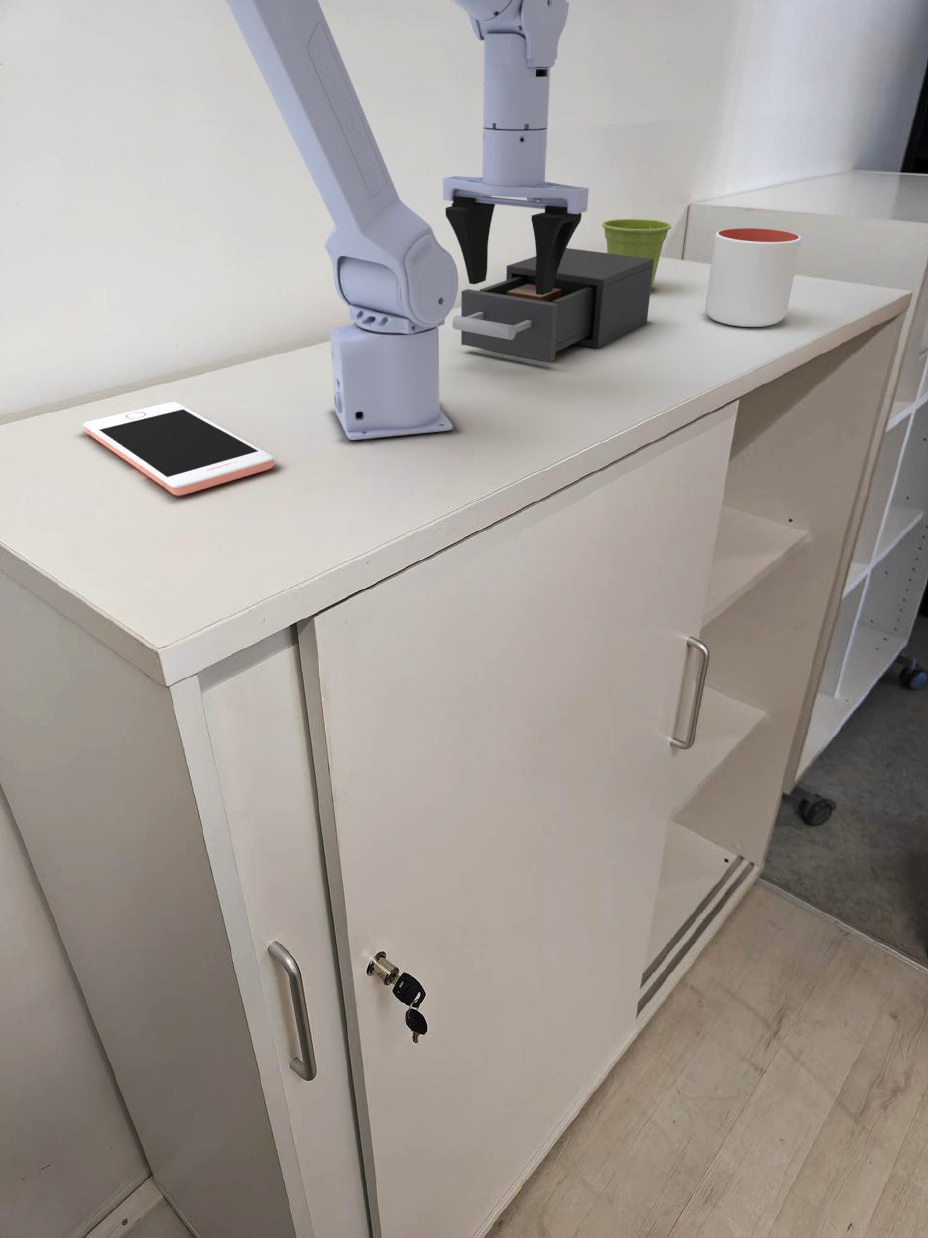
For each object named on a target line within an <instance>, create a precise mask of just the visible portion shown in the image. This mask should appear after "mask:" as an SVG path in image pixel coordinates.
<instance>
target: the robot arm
mask: <svg viewBox="0 0 928 1238" xmlns="http://www.w3.org/2000/svg"><path fill="white" fill-rule="evenodd" d="M225 2H226V3H227V5H228V8H229V9H230V12H231V14H232V16H233V19H234V20H235V22H236V24H237V26H238V28H239V30H240V32H241V34H242V36H243V38H244V41H245V42H246V45H247V47H248V49H249V51H250V53H251V55H252V57H253V59H254V61H255V64H256V65H257V67H258V69H259V71H260V73H261V76H262V77H263V80H264V82H265V84H266V86H267V88H268V90H269V91H270V94H271V96H272V98H273V100H274V102H275V105H276V106H277V109H278V110H279V112H280V115H281V117H282V118H283V121H284V123H285V125H286V127H287V129H288V132H289V134H290V135H291V137H292V139H293V142H294V143H295V146H296V147H297V150H298V152H299V154H300V155H301V158H302V160H303V162H304V164H305V166H306V168H307V170H308V173H309V175H310V176H311V179H312V180H313V182H314V185H315V187H316V189H317V190H318V191H317V192H318V193H319V195H320V197H321V199H322V202H323V203H324V205H325V207H326V209H327V212H328V213H329V215H330V218H331V219H332V222H333V223H334V225H333V227H332V228H331V231H330V232H329V234H328V236H327V238H326V241H325V243H324V248H325V250H326V252H327V254H328V256H329V258H330V261H331V265H332V271H333V273H332V274H333V282H334V288H335V290H336V293H337V294H338V297H339V298H340V300H341V301H342V302H343V303H344V304H345V305H346V306H347V307H349V319H350V320H352V321H354V322H353V323H351V324H348V325H344V326H343V325H342V326H336V327H332V328H331V332H330V334H331V335H330V337H331V338H330V346H331V347H330V349H331V361H332V376H333V389H334V390H333V391H334V394H333V400H334V401H333V403H334V412H335V415H336V416H337V418H338V420H339V423H340V425H341V426H342V429H343V432H344V433H345V435H346V438H347V439H348V440H350V441H357V440H365V439H366V440H368V439H376V438H377V439H378V438H386V437H397V436H407V435H408V436H409V435H415V434H416V435H417V434H427V433H436V432H446V431H447V432H448V431H451V430H453V423H452V422H451V421H450V419H449V418H448V416H447V414H445V413H444V411H443V410H442V408H440V345H439V344H440V343H439V341H440V340H439V339H440V338H439V331H440V330H439V327H441V326H444V325H445V319H446V318H447V317H448V316H449V315H450V313H451V311H452V309H453V308H454V305H455V303H456V299H457V296H458V292H459V291H458V290H459V271H458V268H457V264H456V262H455V260H454V258H453V256H452V254H451V253H450V252H449V251H448V250H447V249H445V248H444V247H443V246H442V245H441V244H440V243H439V242H438V240H437V237H436V235H435V233H434V231H433V228H432V226H431V225H430V224H429V223H428V222H427V221H425V219H423V218H422V216H420V215H418V214H417V213H416V211H414V210H412V209H411V208H410V207H409V206H407V204H406V203H404V202H403V200H401V199H400V196H399V194H398V191H397V189H396V187H395V184H394V182H393V180H392V177H391V174H390V172H389V170H388V167H387V165H386V162H385V159H384V157H383V155H382V151H381V150H380V147H379V146H378V143H377V141H376V138H375V136H374V133H373V131H372V128H371V126H370V123H369V121H368V119H367V116H366V113H365V111H364V108H363V106H362V105H361V101H360V99H359V97H358V95H357V92H356V90H355V87H354V84H353V83H352V79H351V78H350V75H349V72H348V70H347V68H346V65H345V63H344V60H343V58H342V55H341V53H340V50H339V48H338V45H337V43H336V40H335V38H334V36H333V34H332V31H331V29H330V27H329V24H328V22H327V19H326V16H325V15H324V12H323V9H322V7H321V5H320V2H319V0H225ZM451 2H453V3H455V4H456V5H457V6H459V7H460V9H462V10H464V11H465V12H466V13H467V15H468V17H469V21H470V24H471V28H472V30H473V32H474V34H475V36H476V38H477V39H478V40H479V41H484V42H483V43H484V44H483V46H484V47H483V108H482V110H483V111H482V112H483V113H482V114H483V115H482V121H483V122H482V123H483V124H482V171H481V172H482V173H481V174H482V176H481V177H478V176H477V177H475V176H459V175H452V176H447V177H443V178H442V201H447V202H452V203H451V206H447V207H445V210H444V211H445V217H446V219H447V221H448V223H449V225H450V226H451V228H452V230H453V233H454V234H455V237H456V239H457V242H458V245H459V247H460V251H461V254H462V258H463V262H464V265H465V269H466V274H467V279H468V284H469V285H474V286H475V285H479V284H480V283H483V282H486V280H487V274H488V258H489V257H488V254H489V253H488V252H489V238H490V231H491V226H492V219H493V215H494V211H495V207H496V205H499V206H500V205H501V206H509V207H517V208H530V209H538V210H544V212H539V213H536V214H532V215H531V224H532V229H533V236H534V243H535V244H534V245H535V256H536V276H535V288H536V294H538V295H544V294H547V293H549V292H552V291H553V286H554V282H555V278H556V275H557V271H558V268H559V265H560V262H561V259H562V257H563V254H564V252H565V249H566V248H568V245H569V243H570V241H571V239H572V237H573V235H574V233H575V231H576V230H577V228H578V226H579V224H580V223H581V220H582V214H583V213H587V211H588V205H589V203H588V202H589V193H590V192H589V191H590V189H589V187H582V186H574V185H568V184H562V183H557V182H549V181H545V180H546V166H547V165H546V164H547V163H546V162H547V141H548V140H547V139H548V126H549V125H548V123H549V122H548V121H549V101H550V83H551V68H552V67H554V66H555V63H556V60H557V59H558V48H559V40H560V37H561V35H562V33H563V31H564V28H565V26H566V23H567V19H568V16H569V15H568V14H569V8H570V2H569V1H567V0H451ZM516 198H517V199H516ZM518 198H523V199H518ZM524 198H525V199H524Z"/></svg>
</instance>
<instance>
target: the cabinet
mask: <svg viewBox="0 0 928 1238" xmlns="http://www.w3.org/2000/svg"><path fill="white" fill-rule="evenodd" d="M653 264H654V259H649V258H641V257H633V256H626V255H618V254H610V253H607V252H602V251H601V252H600V251H594V250H586V249H577V248H569V247H566V249H565V252H564V254H563V257H562V259H561V262H560V265H559V268H558V271H557V275H556V278H555V280H560V281H567V282H574V283H581V284H587V285H594V286H597V290H596V302H595V315H594V327H593V334H592V335H590V336H588V337H586V338H584V339H582V340H580V341H577V342H575V343H573V344H572V345H576V346H582V347H587V348H592V349H597V350H598V349H600V348H601V347H603V346H606V345H607V344H610V343H611V342H613V341H615V340H617V339H619V338H621V337H623V336H625V335H626V334H629V333H631V332H632V331H634V330H637V329H638V328H641V327H642V326H644V325H646V324H647V323H648V316H649V307H650V300H651V290H652V289H651V282H652V273H653ZM520 275H526V276H533V277H535V276H536V255H535V256H532V257H530V258H526V259H523V260H521V261H520V260H519V261H517V262H515V263H511V264H508V265H506V276H505V278H506V280H509V279H512V278H515V277H517V276H520ZM506 280H505V281H506Z"/></svg>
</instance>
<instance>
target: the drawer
mask: <svg viewBox="0 0 928 1238" xmlns="http://www.w3.org/2000/svg"><path fill="white" fill-rule="evenodd" d="M527 284H530V285H535V277H533V276H526V275H520V276H517V277H515V278H512V279H509V280H503V281H500V282H498V283H494V284H492V285H489V286H485V287H483V288H480V289H479V290H476V289H469V288H467V289H464V290H461V300H460V301H461V304H460V305H461V307H460V308H461V315H455V316H454V317H453V319H452V328H453V329H454V330H456V331H457V330H458V331H460V332H461V334H460V336H461V337H460V338H461V339H460V341H461V342H460V343H461V345H462V346H466V347H472V348H477V349H483V350H486V351H491V352H497V353H502V354H508V355H513V356H518V357H522V358H528V359H533V360H538V361H543V362H552V361H554V360H556V353H557V352H559V351H562V350H563V349H565V348H568V347H569V346H571V345H574V344H573V343H575V342H577V341H580V340H582V339H584V338H586V337H588V336H590V335H592V334H593V327H594V315H595V302H596V290H597V286H594V285H587V284H581V283H574V282H567V281H560V280H555V282H554V286H553V288H557V289H561V298H559V299H557V300H554V301H552V303H551V302H545V301H539V300H532V299H526V298H520V297H514V296H507V291H510V290H513V289H516V288H518V287H521V286H524V285H527Z"/></svg>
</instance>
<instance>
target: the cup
mask: <svg viewBox="0 0 928 1238" xmlns="http://www.w3.org/2000/svg"><path fill="white" fill-rule="evenodd" d="M801 241H802V237H801V236H800V235H799V234H797V233H793V232H791V231H786V230H779V229H772V228H759V227H758V228H757V227H737V228H736V227H735V228H726V229H720V230H718V231H717V232H716V233H715V236H714V244H713V251H712V257H711V263H710V265H711V266H710V271H709V277H708V284H707V291H706V296H705V297H706V299H705V306H704V308H705V309H704V310H705V312H706V314H707V316H708V317H709V318H710V319H712V320H713V321H715V322H717V323H720V324H724V325H728V326H734V327H743V328H763V327H770V326H773V325H777V324H778V323H779V322H781V321H782V320H783V319H784V318H785V317H786V315H787V313H788V308H789V303H790V298H791V292H792V287H793V283H794V278H795V273H796V268H797V263H798V258H799V252H800V248H801Z"/></svg>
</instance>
